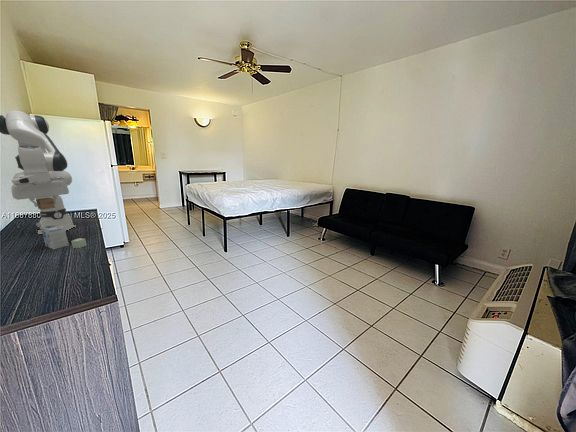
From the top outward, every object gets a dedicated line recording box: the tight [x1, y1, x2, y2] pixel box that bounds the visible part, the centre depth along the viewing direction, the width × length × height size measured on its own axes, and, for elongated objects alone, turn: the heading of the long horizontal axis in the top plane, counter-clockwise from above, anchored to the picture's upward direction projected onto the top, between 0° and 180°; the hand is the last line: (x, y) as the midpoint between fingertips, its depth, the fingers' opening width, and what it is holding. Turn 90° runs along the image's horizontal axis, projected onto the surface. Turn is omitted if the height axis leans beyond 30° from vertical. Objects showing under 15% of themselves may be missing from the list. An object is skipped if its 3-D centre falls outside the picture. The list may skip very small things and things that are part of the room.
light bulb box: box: [41, 225, 70, 250], centre depth 125 cm, size 11×7×11 cm, turn 62°
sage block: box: [71, 237, 87, 249], centre depth 124 cm, size 4×4×4 cm
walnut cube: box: [35, 198, 55, 210], centre depth 120 cm, size 5×5×5 cm
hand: (46, 205), depth 121 cm, fingers closed on walnut cube, 5 cm apart
